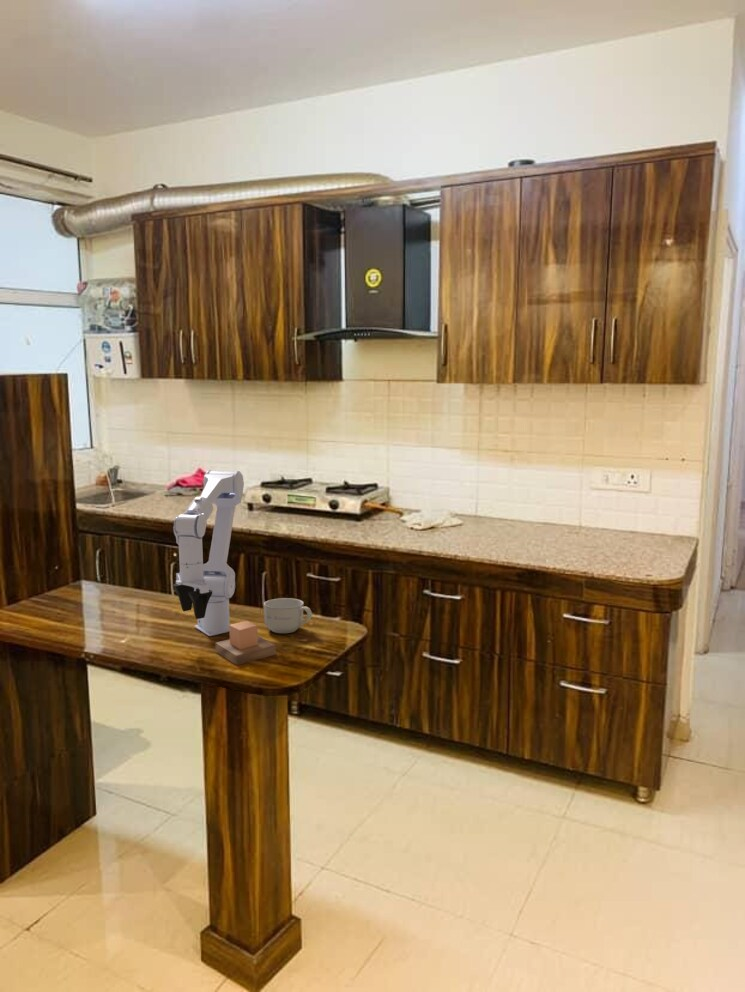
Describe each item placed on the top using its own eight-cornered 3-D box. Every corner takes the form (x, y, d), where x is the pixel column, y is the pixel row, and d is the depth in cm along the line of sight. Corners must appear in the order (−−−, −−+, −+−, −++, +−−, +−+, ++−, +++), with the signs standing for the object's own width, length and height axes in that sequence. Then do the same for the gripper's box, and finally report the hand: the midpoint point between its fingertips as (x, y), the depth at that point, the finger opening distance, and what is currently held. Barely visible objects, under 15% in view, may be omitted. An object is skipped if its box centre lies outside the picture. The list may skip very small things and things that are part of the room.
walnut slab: (215, 654, 191) (215, 642, 190) (254, 644, 197) (253, 633, 197) (236, 667, 182) (236, 655, 182) (276, 656, 189) (275, 645, 188)
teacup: (256, 631, 205) (255, 603, 204) (284, 620, 214) (283, 593, 213) (293, 642, 197) (292, 613, 196) (321, 631, 205) (320, 603, 204)
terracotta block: (230, 644, 189) (229, 624, 188) (247, 639, 193) (246, 620, 192) (240, 649, 186) (239, 630, 185) (257, 644, 189) (257, 625, 188)
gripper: (164, 558, 191) (166, 610, 194) (188, 570, 180) (191, 625, 182) (190, 554, 196) (192, 604, 198) (215, 565, 184) (217, 619, 187)
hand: (193, 614), depth 190 cm, fingers open, 7 cm apart
